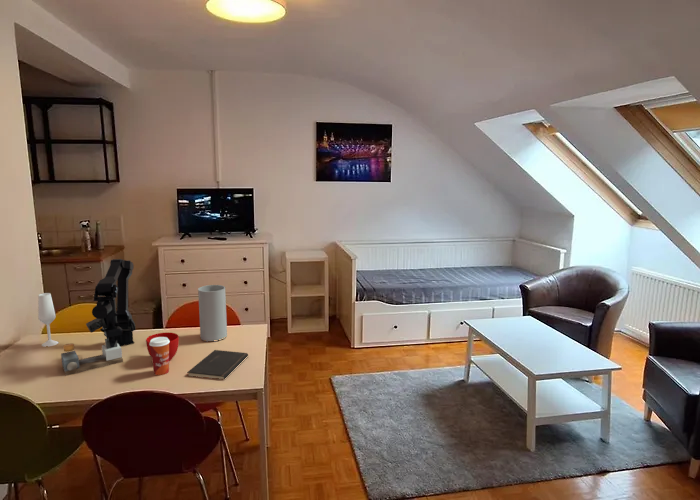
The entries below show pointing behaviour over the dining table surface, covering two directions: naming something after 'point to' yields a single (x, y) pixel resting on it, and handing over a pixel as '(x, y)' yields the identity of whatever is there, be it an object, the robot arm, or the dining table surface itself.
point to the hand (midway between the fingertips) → (111, 346)
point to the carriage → (111, 350)
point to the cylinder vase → (212, 312)
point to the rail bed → (84, 362)
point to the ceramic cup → (172, 345)
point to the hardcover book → (218, 364)
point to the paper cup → (160, 355)
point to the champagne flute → (46, 314)
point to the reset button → (68, 347)
